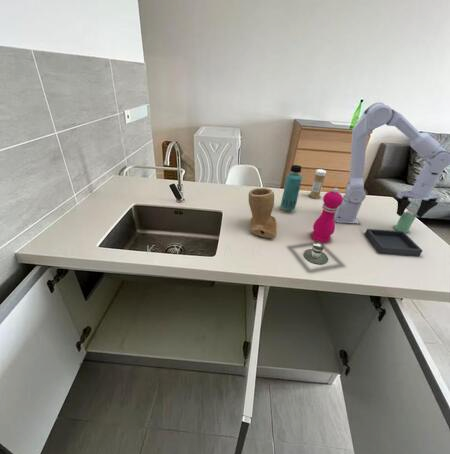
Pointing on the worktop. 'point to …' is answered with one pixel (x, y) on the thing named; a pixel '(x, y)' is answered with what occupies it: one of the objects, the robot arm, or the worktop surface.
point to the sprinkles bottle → (317, 183)
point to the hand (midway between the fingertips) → (408, 215)
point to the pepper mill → (327, 216)
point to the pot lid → (316, 254)
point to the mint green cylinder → (405, 221)
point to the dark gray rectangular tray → (392, 242)
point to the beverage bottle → (291, 188)
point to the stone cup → (262, 212)
